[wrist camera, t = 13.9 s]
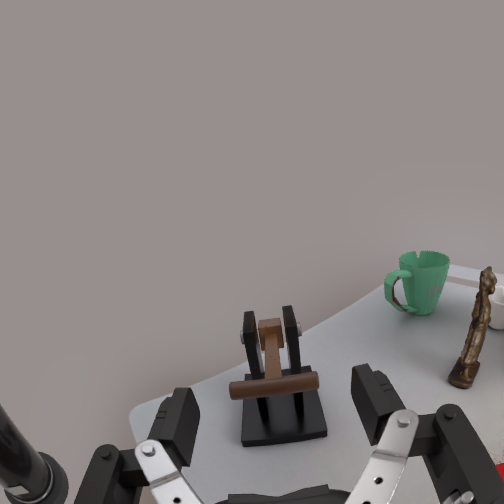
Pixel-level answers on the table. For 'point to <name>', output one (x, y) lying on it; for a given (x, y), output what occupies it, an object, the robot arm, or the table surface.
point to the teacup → (497, 308)
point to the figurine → (475, 333)
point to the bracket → (281, 406)
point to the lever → (273, 369)
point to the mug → (418, 281)
